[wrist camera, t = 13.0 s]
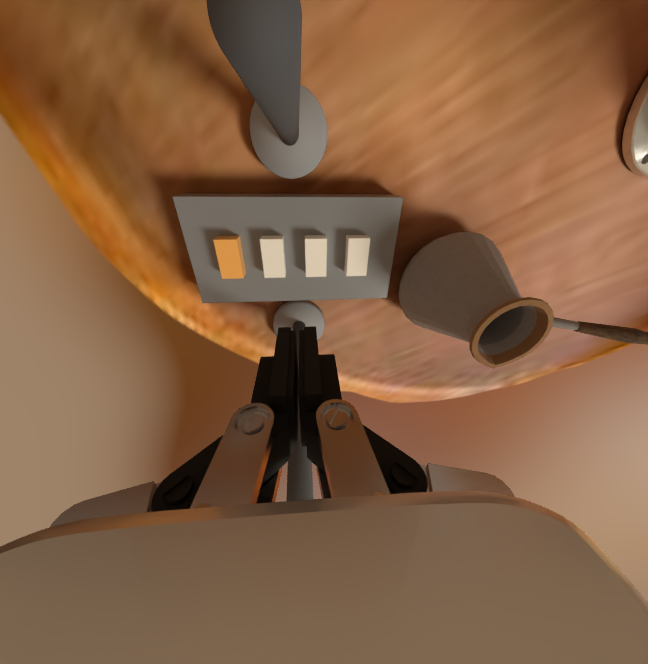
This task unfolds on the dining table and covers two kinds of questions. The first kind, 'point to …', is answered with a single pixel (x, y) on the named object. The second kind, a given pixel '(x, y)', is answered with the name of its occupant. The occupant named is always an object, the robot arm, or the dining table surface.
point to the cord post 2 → (298, 464)
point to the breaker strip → (289, 245)
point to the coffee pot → (483, 301)
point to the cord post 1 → (272, 81)
